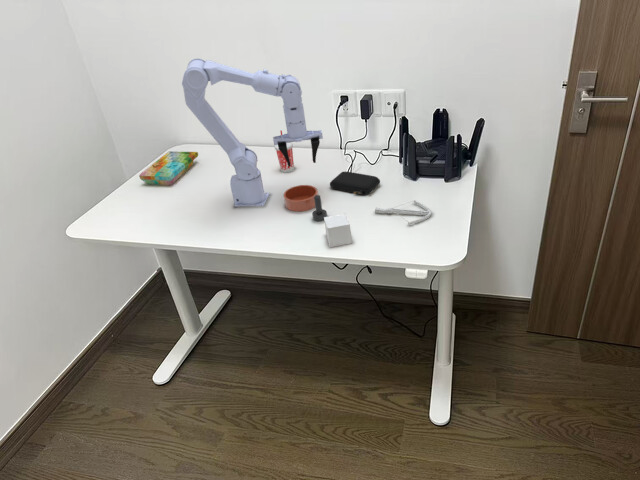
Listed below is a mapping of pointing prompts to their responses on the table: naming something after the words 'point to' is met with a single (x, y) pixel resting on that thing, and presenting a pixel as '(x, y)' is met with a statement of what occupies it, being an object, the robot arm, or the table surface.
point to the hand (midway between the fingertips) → (301, 163)
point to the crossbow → (407, 212)
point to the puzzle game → (168, 168)
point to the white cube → (338, 230)
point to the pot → (300, 198)
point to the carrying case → (355, 183)
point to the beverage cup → (282, 159)
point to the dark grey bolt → (318, 210)
